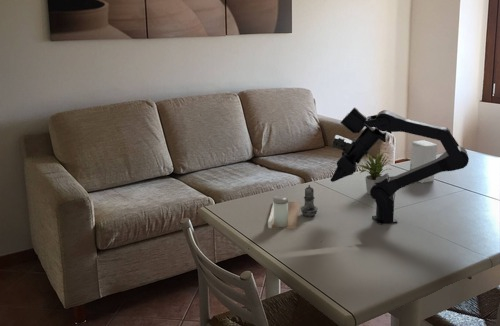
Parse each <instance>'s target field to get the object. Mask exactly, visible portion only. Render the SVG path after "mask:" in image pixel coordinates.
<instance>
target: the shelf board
mask: <svg viewBox="0 0 500 326" xmlns="http://www.w3.org/2000/svg"><path fill="white" fill-rule="evenodd" d="M300 206H301V202H300V201H288V226H286V227H276V226H274V220H273V224H272V228H271V229H282V230H284V229H285V230H287V229H289V230H297V228H298V221H299V213H300V208H301V207H300Z"/></svg>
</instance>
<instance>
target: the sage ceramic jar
mask: <svg viewBox="0 0 500 326" xmlns="http://www.w3.org/2000/svg"><path fill="white" fill-rule="evenodd" d="M272 200H273V202H272V203H274V226H276V227H286V226H288V202H289V197H288V196H285V195H277V197H275V196H274V197H273V198H272Z"/></svg>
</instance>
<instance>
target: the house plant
mask: <svg viewBox="0 0 500 326" xmlns="http://www.w3.org/2000/svg"><path fill="white" fill-rule="evenodd" d="M384 154H385V151H382V152H381V153H380V154H379V152H378V153H377V154H376V157H375V161H374V158H373V156H372V155H370V154H369V153H368V154H367V158H368V160H366V159H365V158H364V157H363V158H362V160H364V161H365V162H364V164H365V165H364V164H357V167H358V168H359V169H360V168H361V169H360V170H359V174H361V173H364V172H366V173H368V175H365V185H366V194H367V195H370V196H371V194H370V190H371V186H372V183H373V182H374V181H375V180H376V178H377V177H381V176H383V174H382V173H383V172H385V171H387V170H389V168H386V169H383V167H384V166H385V165H387V163H389V162H390V160H389V161H387V159H388V157H389V156H387V157H386V154H385V155H384ZM383 156H384V157H383ZM382 158H383V159H382ZM390 170H392V168H390Z"/></svg>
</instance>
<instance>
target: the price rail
mask: <svg viewBox="0 0 500 326" xmlns="http://www.w3.org/2000/svg"><path fill="white" fill-rule="evenodd" d="M277 196H278V195H277ZM277 196H274V197H277ZM272 203H273V204H272V206H271V210H270V214H269V216H268V220H267V229H273V228H272V224H273V220H274V202H272Z"/></svg>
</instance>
